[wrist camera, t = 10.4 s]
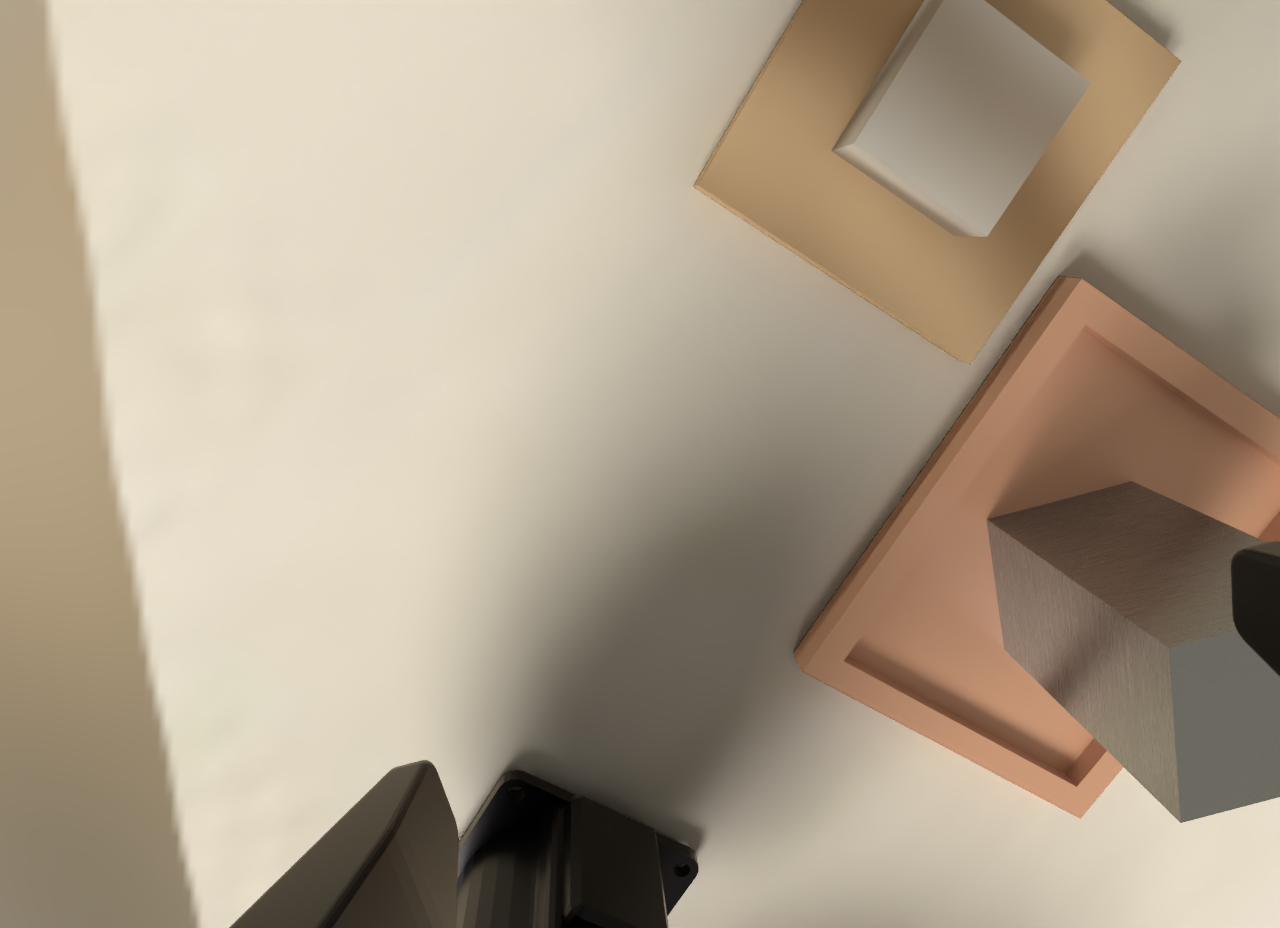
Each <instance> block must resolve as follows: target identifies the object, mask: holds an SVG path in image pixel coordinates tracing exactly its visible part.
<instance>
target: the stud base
mask: <svg viewBox="0 0 1280 928" xmlns="http://www.w3.org/2000/svg"><path fill="white" fill-rule="evenodd" d="M1180 63H1181V61H1180V60H1179V59H1178V58H1177V57H1175V56H1174V55H1173V54H1172V53H1171V52H1169V51H1168V50H1167V49H1166V48H1164V47H1163V46H1162V45H1161V44H1159V43H1158V42H1157V41H1156V40H1154V39H1153V38H1152V37H1151V36H1149V35H1148V34H1147V33H1146V32H1145V31H1143V30H1142V29H1141V28H1140V27H1138V26H1137V25H1136V24H1135V23H1133V22H1132V21H1131V20H1130V19H1128V18H1127V17H1126V16H1125V15H1123V14H1122V13H1121V12H1120V11H1118V10H1117V9H1116V8H1115V7H1114V6H1112V5H1111V4H1110V3H1109V2H1107V1H1106V0H803V1H802V3H801V5H800V6H799V8H798V10H797V11H796V13H795V15H794V17H793V18H792V20H791V22H790V23H789V25H788V27H787V28H786V30H785V32H784V33H783V35H782V37H781V39H780V40H779V42H778V44H777V45H776V47H775V49H774V50H773V52H772V54H771V56H770V57H769V59H768V61H767V62H766V64H765V66H764V67H763V69H762V71H761V73H760V74H759V76H758V78H757V79H756V81H755V83H754V84H753V86H752V88H751V90H750V91H749V93H748V95H747V96H746V98H745V100H744V101H743V103H742V105H741V107H740V108H739V110H738V112H737V113H736V115H735V117H734V118H733V120H732V122H731V123H730V125H729V127H728V129H727V130H726V132H725V134H724V135H723V137H722V139H721V140H720V142H719V144H718V146H717V147H716V149H715V151H714V152H713V154H712V156H711V157H710V159H709V161H708V163H707V164H706V166H705V168H704V169H703V171H702V173H701V174H700V176H699V178H698V180H697V181H696V183H695V185H694V186H693V187H695V188H696V189H698V190H699V191H701V192H702V193H704V194H706V195H707V196H709V197H710V198H712V199H713V200H715V201H716V202H718V203H719V204H721V205H722V206H724V207H725V208H727V209H728V210H730V211H731V212H733V213H735V214H736V215H738V216H739V217H741V218H742V219H744V220H745V221H747V222H748V223H750V224H751V225H753V226H754V227H756V228H757V229H759V230H760V231H762V232H764V233H765V234H767V235H768V236H770V237H771V238H773V239H774V240H776V241H777V242H779V243H780V244H782V245H783V246H785V247H786V248H788V249H790V250H791V251H793V252H794V253H796V254H797V255H799V256H800V257H802V258H803V259H805V260H806V261H808V262H809V263H811V264H812V265H814V266H815V267H817V268H819V269H820V270H822V271H823V272H825V273H826V274H828V275H829V276H831V277H832V278H834V279H835V280H837V281H838V282H840V283H841V284H843V285H844V286H846V287H848V288H849V289H851V290H852V291H854V292H855V293H857V294H858V295H860V296H861V297H863V298H864V299H866V300H867V301H869V302H870V303H872V304H874V305H875V306H877V307H878V308H880V309H881V310H883V311H884V312H886V313H887V314H889V315H890V316H892V317H893V318H895V319H896V320H898V321H899V322H901V323H903V324H904V325H906V326H907V327H909V328H910V329H912V330H913V331H915V332H916V333H918V334H919V335H921V336H922V337H924V338H925V339H927V340H928V341H930V342H932V343H933V344H935V345H936V346H938V347H939V348H941V349H942V350H944V351H945V352H947V353H948V354H950V355H951V356H953V357H954V358H956V359H959V360H961V361H964V362H967V363H970V364H971V363H972V361H973V360H974V358H975V357H976V355H977V354H978V353H979V351H980V350H981V348H982V347H983V345H984V344H985V343H986V341H987V340H988V338H989V337H990V335H991V334H992V332H993V331H994V330H995V328H996V327H997V325H998V324H999V322H1000V321H1001V320H1002V318H1003V317H1004V315H1005V314H1006V312H1007V311H1008V310H1009V308H1010V307H1011V305H1012V304H1013V302H1014V301H1015V299H1016V298H1017V297H1018V295H1019V294H1020V292H1021V291H1022V289H1023V288H1024V287H1025V285H1026V284H1027V282H1028V281H1029V279H1030V278H1031V276H1032V275H1033V274H1034V272H1035V271H1036V269H1037V268H1038V266H1039V265H1040V264H1041V262H1042V261H1043V259H1044V258H1045V256H1046V255H1047V254H1048V252H1049V251H1050V249H1051V248H1052V246H1053V245H1054V243H1055V242H1056V241H1057V239H1058V238H1059V236H1060V235H1061V233H1062V232H1063V231H1064V229H1065V228H1066V226H1067V225H1068V223H1069V222H1070V220H1071V219H1072V218H1073V216H1074V215H1075V213H1076V212H1077V210H1078V209H1079V208H1080V206H1081V205H1082V203H1083V202H1084V200H1085V199H1086V198H1087V196H1088V195H1089V193H1090V192H1091V190H1092V189H1093V187H1094V186H1095V185H1096V183H1097V182H1098V180H1099V179H1100V177H1101V176H1102V175H1103V173H1104V172H1105V170H1106V169H1107V167H1108V166H1109V164H1110V163H1111V162H1112V160H1113V159H1114V157H1115V156H1116V154H1117V153H1118V152H1119V150H1120V149H1121V147H1122V146H1123V144H1124V143H1125V142H1126V140H1127V139H1128V137H1129V136H1130V134H1131V133H1132V131H1133V130H1134V129H1135V127H1136V126H1137V124H1138V123H1139V121H1140V120H1141V119H1142V117H1143V116H1144V114H1145V113H1146V111H1147V110H1148V108H1149V107H1150V106H1151V104H1152V103H1153V101H1154V100H1155V98H1156V97H1157V96H1158V94H1159V93H1160V91H1161V90H1162V88H1163V87H1164V86H1165V84H1166V83H1167V81H1168V80H1169V78H1170V77H1171V75H1172V74H1173V73H1174V71H1175V70H1176V68H1177V67H1178V65H1179V64H1180Z"/></svg>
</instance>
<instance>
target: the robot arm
mask: <svg viewBox="0 0 1280 928" xmlns="http://www.w3.org/2000/svg"><path fill="white" fill-rule="evenodd" d="M1231 591H1232V616H1233V621H1234V625H1235V628H1236V630H1237V632H1238V633H1239V635H1240V636H1241V638H1242V639H1243V640H1244V642H1245V643H1246V644H1247V645H1248V646H1249V647H1250V648H1251V649H1252V650H1253V651H1254V652H1255V653H1256V654H1257V655H1258V656H1259V657H1260V658H1261V659H1262V660H1263V661H1264V662H1265V663H1266V664H1267V665H1268V666H1269V667H1270V668H1271V669H1272V670H1273V671H1274V672H1275V673H1276V674H1277V675H1278V676H1279V677H1280V541H1272V542H1266V543H1263V544H1259V545H1255V546H1251V547H1247V548H1244V549H1241V550H1239V551H1237V552H1236V553H1235V554H1234V556H1233V557H1232V560H1231ZM512 787H519V788H521V789H522V790H523V791H521V792H519V793H513V792H511V791H510V790H508V789H510V788H512ZM678 863H686V865H685V866H682V867H676V866H675V865H677V864H678ZM697 873H698V862H697V857H696V854H695V852H694V851H693V850H692V849H690V848H689V847H687V846H685V845H683V844H680V843H678V842H676V841H674V840H672V839H670V838H667V837H665V836H663V835H661V834H659V833H657V832H655V831H654V829H653V828H651V827H649V826H646V825H644V824H642V823H640V822H638V821H636V820H633V819H631V818H629V817H627V816H625V815H623V814H620V813H618V812H616V811H614V810H612V809H610V808H607V807H605V806H603V805H601V804H599V803H597V802H594V801H592V800H590V799H588V798H586V797H583V796H576V795H574V794H572V793H570V792H567V791H565V790H563V789H561V788H559V787H557V786H554V785H552V784H550V783H548V782H546V781H544V780H541V779H539V778H537V777H535V776H533V775H530V774H528V773H526V772H523V771H519V770H514V771H510V772H507V773H505V774H504V775H503V776H502V777H501V778H500V780H499V781H498V783H497V784H496V786H495V788H494V789H493V791H492V792H491V794H490V795H489V797H488V799H487V800H486V802H485V803H484V805H483V806H482V808H481V810H480V811H479V813H478V814H477V816H476V817H475V819H474V820H473V822H472V824H471V825H470V827H469V828H468V830H467V831H466V833H465V835H464V836H463V838H462V839H461V841H460V842H459V838H458V830H457V825H456V821H455V818H454V815H453V812H452V810H451V807H450V804H449V802H448V799H447V796H446V794H445V791H444V788H443V786H442V783H441V780H440V778H439V775H438V772H437V770H436V768H435V767H434V765H433V764H432V763H431V762H430V761H427V760H422V761H418V762H414V763H410V764H406V765H402V766H398V767H395V768H393V769H392V770H390V771H389V772H388V773H387V774H386V775H385V776H384V777H383V778H382V779H381V780H380V781H379V782H378V783H377V784H376V785H375V786H374V787H373V788H372V789H371V790H370V791H369V792H368V793H367V794H366V795H365V796H364V797H363V798H362V799H361V800H360V801H358V802H357V803H356V804H355V805H354V806H353V807H352V808H351V809H350V810H349V811H348V812H347V813H346V814H345V815H344V816H343V817H342V818H341V819H340V820H339V821H338V822H337V823H336V824H335V825H334V826H333V827H332V828H331V829H330V830H329V831H328V832H327V833H326V834H325V835H324V836H323V837H322V838H321V839H320V840H319V841H318V842H317V843H316V844H314V845H313V846H312V847H311V848H310V849H309V850H308V851H307V852H306V853H305V854H304V855H303V856H302V857H301V858H300V859H299V860H298V861H297V862H296V863H295V864H294V865H293V866H292V867H291V868H290V869H289V870H288V871H287V872H286V873H285V874H284V875H283V876H282V877H281V878H280V879H279V880H278V881H277V882H276V883H275V884H274V885H273V886H271V887H270V888H269V889H268V890H267V891H266V892H265V893H264V894H263V895H262V896H261V897H260V898H259V899H258V900H257V901H256V902H255V903H254V904H253V905H252V906H251V907H250V908H249V909H248V910H247V911H246V912H245V913H244V914H243V915H242V916H241V917H240V918H239V919H238V920H237V921H236V922H235V923H234V924H233V925H232V926H231V927H230V928H669V927H668V919H667V916H668V914H669V913H670V912H671V910H672V909H673V908H674V906H675V905H676V903H677V902H678V901H679V899H680V898H681V897H682V895H683V894H684V892H685V891H686V890H687V888H688V887H689V885H690V884H691V883H692V881H693V880H694V879H695V877H696V875H697Z"/></svg>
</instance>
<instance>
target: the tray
mask: <svg viewBox="0 0 1280 928" xmlns="http://www.w3.org/2000/svg"><path fill="white" fill-rule="evenodd" d="M1131 481H1133V482H1135V483H1137V484H1139V485H1141V486H1144V487H1146V488H1148V489H1150V490H1152V491H1155V492H1157V493H1159V494H1161V495H1163V496H1166V497H1168V498H1170V499H1172V500H1174V501H1177V502H1179V503H1181V504H1183V505H1186V506H1188V507H1190V508H1192V509H1194V510H1197V511H1199V512H1201V513H1203V514H1205V515H1208V516H1210V517H1212V518H1214V519H1216V520H1219V521H1221V522H1223V523H1225V524H1228V525H1230V526H1232V527H1234V528H1236V529H1239V530H1241V531H1243V532H1245V533H1247V534H1250V535H1252V536H1254V537H1256V538H1258V539H1261V540H1263V541H1265V542H1272V541H1280V419H1279V418H1278V417H1277V416H1275V415H1274V414H1272V413H1271V412H1270V411H1268V410H1267V409H1265V408H1264V407H1262V406H1261V405H1260V404H1258V403H1257V402H1255V401H1254V400H1253V399H1251V398H1250V397H1248V396H1247V395H1246V394H1244V393H1243V392H1241V391H1240V390H1238V389H1237V388H1236V387H1234V386H1233V385H1231V384H1230V383H1229V382H1227V381H1226V380H1224V379H1223V378H1222V377H1220V376H1219V375H1217V374H1216V373H1214V372H1213V371H1212V370H1210V369H1209V368H1207V367H1206V366H1205V365H1203V364H1202V363H1200V362H1199V361H1198V360H1196V359H1195V358H1193V357H1192V356H1190V355H1189V354H1188V353H1186V352H1185V351H1183V350H1182V349H1181V348H1179V347H1178V346H1176V345H1175V344H1174V343H1172V342H1171V341H1169V340H1168V339H1166V338H1165V337H1164V336H1162V335H1161V334H1159V333H1158V332H1157V331H1155V330H1154V329H1152V328H1151V327H1150V326H1148V325H1147V324H1145V323H1144V322H1142V321H1141V320H1140V319H1138V318H1137V317H1135V316H1134V315H1133V314H1131V313H1130V312H1128V311H1127V310H1126V309H1124V308H1123V307H1121V306H1120V305H1119V304H1117V303H1116V302H1114V301H1113V300H1111V299H1110V298H1109V297H1107V296H1106V295H1104V294H1103V293H1102V292H1100V291H1099V290H1097V289H1096V288H1095V287H1093V286H1092V285H1090V284H1089V283H1087V282H1086V281H1085V280H1083V279H1081V278H1071V277H1061V276H1058V277H1057V279H1056V280H1055V282H1054V283H1053V285H1052V286H1051V287H1050V289H1049V290H1048V292H1047V293H1046V295H1045V296H1044V297H1043V299H1042V300H1041V302H1040V303H1039V304H1038V306H1037V307H1036V309H1035V310H1034V312H1033V313H1032V314H1031V316H1030V317H1029V319H1028V320H1027V322H1026V323H1025V324H1024V326H1023V327H1022V329H1021V330H1020V331H1019V333H1018V334H1017V336H1016V337H1015V339H1014V340H1013V341H1012V343H1011V344H1010V346H1009V347H1008V349H1007V350H1006V351H1005V353H1004V354H1003V356H1002V357H1001V358H1000V360H999V361H998V363H997V364H996V366H995V367H994V368H993V370H992V371H991V373H990V374H989V376H988V377H987V378H986V380H985V381H984V383H983V384H982V385H981V387H980V388H979V390H978V391H977V393H976V394H975V395H974V397H973V398H972V400H971V401H970V402H969V404H968V405H967V407H966V408H965V410H964V411H963V412H962V414H961V415H960V417H959V418H958V420H957V421H956V422H955V424H954V425H953V427H952V428H951V429H950V431H949V432H948V434H947V435H946V437H945V438H944V439H943V441H942V442H941V444H940V445H939V447H938V448H937V449H936V451H935V452H934V454H933V455H932V456H931V458H930V459H929V461H928V462H927V464H926V465H925V466H924V468H923V469H922V471H921V472H920V474H919V475H918V476H917V478H916V479H915V481H914V482H913V483H912V485H911V486H910V488H909V489H908V491H907V492H906V493H905V495H904V496H903V498H902V499H901V501H900V502H899V503H898V505H897V506H896V508H895V509H894V510H893V512H892V513H891V515H890V516H889V518H888V519H887V520H886V522H885V523H884V525H883V526H882V528H881V529H880V530H879V532H878V533H877V535H876V536H875V537H874V539H873V540H872V542H871V543H870V545H869V546H868V547H867V549H866V550H865V552H864V553H863V555H862V556H861V557H860V559H859V560H858V562H857V563H856V564H855V566H854V567H853V569H852V570H851V572H850V573H849V574H848V576H847V577H846V579H845V580H844V582H843V583H842V584H841V586H840V587H839V589H838V590H837V591H836V593H835V594H834V596H833V597H832V599H831V600H830V601H829V603H828V604H827V606H826V607H825V609H824V610H823V611H822V613H821V614H820V616H819V617H818V618H817V620H816V621H815V623H814V624H813V626H812V627H811V628H810V630H809V631H808V633H807V634H806V636H805V637H804V638H803V640H802V641H801V643H800V644H799V645H798V647H797V648H796V650H795V651H794V653H793V654H794V656H795V658H796V660H797V662H798V664H799V666H800V668H801V670H802V672H804V673H806V674H808V675H810V676H812V677H814V678H816V679H817V680H819V681H821V682H823V683H825V684H827V685H829V686H831V687H833V688H834V689H836V690H838V691H840V692H842V693H844V694H846V695H848V696H850V697H851V698H853V699H855V700H857V701H859V702H861V703H863V704H865V705H867V706H868V707H870V708H872V709H874V710H876V711H878V712H880V713H882V714H884V715H885V716H887V717H889V718H891V719H893V720H895V721H897V722H899V723H901V724H902V725H904V726H906V727H908V728H910V729H912V730H914V731H916V732H918V733H919V734H921V735H923V736H925V737H927V738H929V739H931V740H933V741H935V742H936V743H938V744H940V745H942V746H944V747H946V748H948V749H950V750H952V751H953V752H955V753H957V754H959V755H961V756H963V757H965V758H967V759H969V760H970V761H972V762H974V763H976V764H978V765H980V766H982V767H984V768H986V769H987V770H989V771H991V772H993V773H995V774H997V775H999V776H1001V777H1003V778H1004V779H1006V780H1008V781H1010V782H1012V783H1014V784H1016V785H1018V786H1020V787H1021V788H1023V789H1025V790H1027V791H1029V792H1031V793H1033V794H1035V795H1037V796H1038V797H1040V798H1042V799H1044V800H1046V801H1048V802H1050V803H1052V804H1054V805H1055V806H1057V807H1059V808H1061V809H1063V810H1065V811H1067V812H1069V813H1071V814H1072V815H1074V816H1076V817H1078V818H1081V817H1082V816H1083V815H1084V814H1085V812H1086V811H1087V810H1088V809H1089V808H1090V806H1091V805H1092V804H1093V803H1094V802H1095V800H1096V799H1097V798H1098V797H1099V796H1100V794H1101V793H1102V792H1103V791H1104V790H1105V788H1106V787H1107V786H1108V785H1109V784H1110V783H1111V781H1112V780H1113V779H1114V778H1115V777H1116V775H1117V774H1118V773H1119V772H1120V771H1121V769H1122V768H1123V766H1122V765H1121V764H1120V763H1119V762H1118V761H1117V760H1116V759H1115V758H1114V757H1113V756H1112V755H1111V754H1110V753H1109V752H1108V751H1107V750H1106V749H1105V748H1104V747H1103V746H1102V745H1101V744H1100V743H1099V742H1098V741H1097V740H1096V739H1095V738H1094V737H1093V736H1092V735H1091V734H1090V733H1089V732H1088V731H1087V730H1086V729H1085V728H1084V727H1083V726H1082V725H1081V724H1080V723H1079V722H1078V721H1077V720H1075V719H1074V718H1073V717H1072V716H1071V715H1070V714H1069V713H1068V712H1067V711H1066V710H1065V709H1064V708H1063V707H1062V706H1061V705H1060V704H1059V703H1058V702H1057V701H1056V700H1055V699H1054V698H1053V697H1052V696H1051V695H1050V694H1049V693H1048V692H1047V691H1046V690H1045V689H1044V688H1043V687H1042V686H1041V685H1040V684H1039V683H1038V682H1037V681H1036V680H1035V679H1034V678H1033V677H1032V676H1031V675H1030V674H1029V673H1028V672H1027V671H1026V670H1025V669H1024V668H1023V667H1022V666H1021V665H1020V664H1018V663H1017V662H1016V661H1015V660H1014V659H1013V658H1012V657H1011V656H1010V655H1009V654H1008V653H1007V652H1006V651H1005V650H1004V645H1003V638H1002V630H1001V623H1000V615H999V608H998V601H997V593H996V586H995V578H994V571H993V564H992V556H991V549H990V541H989V534H988V527H987V519H990V518H994V517H997V516H1001V515H1005V514H1009V513H1013V512H1017V511H1020V510H1024V509H1028V508H1032V507H1036V506H1039V505H1043V504H1047V503H1051V502H1055V501H1058V500H1062V499H1066V498H1070V497H1074V496H1078V495H1081V494H1085V493H1089V492H1093V491H1097V490H1100V489H1104V488H1108V487H1112V486H1116V485H1120V484H1123V483H1127V482H1131Z"/></svg>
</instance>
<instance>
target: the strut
mask: <svg viewBox="0 0 1280 928" xmlns="http://www.w3.org/2000/svg"><path fill="white" fill-rule="evenodd" d="M987 527H988V534H989V541H990V549H991V556H992V564H993V571H994V578H995V586H996V593H997V601H998V608H999V615H1000V623H1001V630H1002V638H1003V645H1004V650H1005V651H1006V652H1007V653H1008V654H1009V655H1010V656H1011V657H1012V658H1013V659H1014V660H1015V661H1016V662H1017V663H1018V664H1020V665H1021V666H1022V667H1023V668H1024V669H1025V670H1026V671H1027V672H1028V673H1029V674H1030V675H1031V676H1032V677H1033V678H1034V679H1035V680H1036V681H1037V682H1038V683H1039V684H1040V685H1041V686H1042V687H1043V688H1044V689H1045V690H1046V691H1047V692H1048V693H1049V694H1050V695H1051V696H1052V697H1053V698H1054V699H1055V700H1056V701H1057V702H1058V703H1059V704H1060V705H1061V706H1062V707H1063V708H1064V709H1065V710H1066V711H1067V712H1068V713H1069V714H1070V715H1071V716H1072V717H1073V718H1074V719H1075V720H1077V721H1078V722H1079V723H1080V724H1081V725H1082V726H1083V727H1084V728H1085V729H1086V730H1087V731H1088V732H1089V733H1090V734H1091V735H1092V736H1093V737H1094V738H1095V739H1096V740H1097V741H1098V742H1099V743H1100V744H1101V745H1102V746H1103V747H1104V748H1105V749H1106V750H1107V751H1108V752H1109V753H1110V754H1111V755H1112V756H1113V757H1114V758H1115V759H1116V760H1117V761H1118V762H1119V763H1120V764H1121V765H1122V766H1123V767H1124V768H1125V769H1126V770H1127V771H1128V772H1129V773H1130V774H1131V775H1132V776H1134V777H1135V778H1136V779H1137V780H1138V781H1139V782H1140V783H1141V784H1142V785H1143V786H1144V787H1145V788H1146V789H1147V790H1148V791H1149V792H1150V793H1151V794H1152V795H1153V796H1154V797H1155V798H1156V799H1157V800H1158V801H1159V802H1160V803H1161V804H1162V805H1163V806H1164V807H1165V808H1166V809H1167V810H1168V811H1169V812H1170V813H1171V814H1172V815H1173V816H1174V817H1175V818H1176V819H1177V820H1178V821H1179V822H1180V823H1182V822H1186V821H1190V820H1194V819H1197V818H1201V817H1205V816H1209V815H1213V814H1216V813H1220V812H1224V811H1228V810H1232V809H1235V808H1239V807H1243V806H1247V805H1251V804H1254V803H1258V802H1262V801H1266V800H1270V799H1273V798H1277V797H1280V677H1279V676H1278V675H1277V674H1276V673H1275V672H1274V671H1273V670H1272V669H1271V668H1270V667H1269V666H1268V665H1267V664H1266V663H1265V662H1264V661H1263V660H1262V659H1261V658H1260V657H1259V656H1258V655H1257V654H1256V653H1255V652H1254V651H1253V650H1252V649H1251V648H1250V647H1249V646H1248V645H1247V644H1246V643H1245V642H1244V640H1243V639H1242V638H1241V636H1240V635H1239V633H1238V632H1237V630H1236V628H1235V625H1234V621H1233V616H1232V591H1231V560H1232V557H1233V556H1234V554H1235V553H1236V552H1237V551H1239V550H1241V549H1244V548H1247V547H1251V546H1255V545H1259V544H1263V543H1266V542H1265V541H1263V540H1261V539H1258V538H1256V537H1254V536H1252V535H1250V534H1247V533H1245V532H1243V531H1241V530H1239V529H1236V528H1234V527H1232V526H1230V525H1228V524H1225V523H1223V522H1221V521H1219V520H1216V519H1214V518H1212V517H1210V516H1208V515H1205V514H1203V513H1201V512H1199V511H1197V510H1194V509H1192V508H1190V507H1188V506H1186V505H1183V504H1181V503H1179V502H1177V501H1174V500H1172V499H1170V498H1168V497H1166V496H1163V495H1161V494H1159V493H1157V492H1155V491H1152V490H1150V489H1148V488H1146V487H1144V486H1141V485H1139V484H1137V483H1135V482H1133V481H1131V482H1127V483H1123V484H1120V485H1116V486H1112V487H1108V488H1104V489H1100V490H1097V491H1093V492H1089V493H1085V494H1081V495H1078V496H1074V497H1070V498H1066V499H1062V500H1058V501H1055V502H1051V503H1047V504H1043V505H1039V506H1036V507H1032V508H1028V509H1024V510H1020V511H1017V512H1013V513H1009V514H1005V515H1001V516H997V517H994V518H990V519H987Z"/></svg>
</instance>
